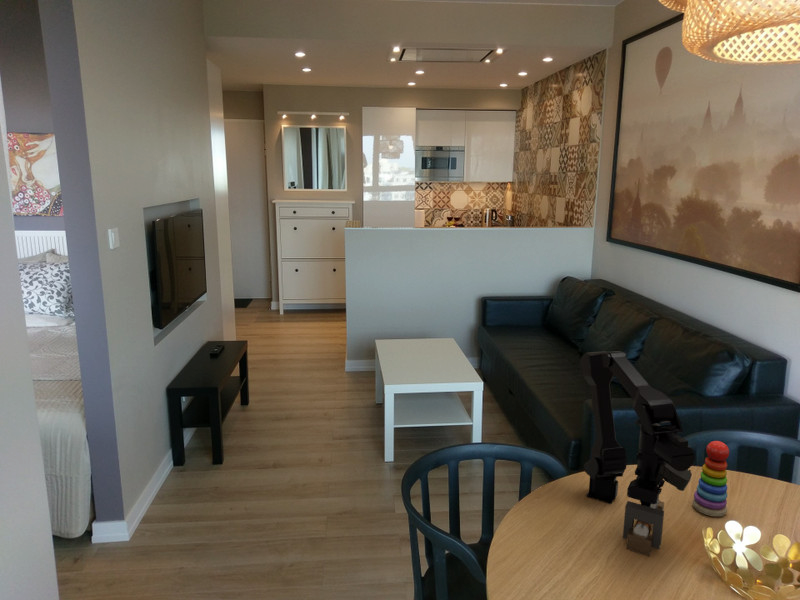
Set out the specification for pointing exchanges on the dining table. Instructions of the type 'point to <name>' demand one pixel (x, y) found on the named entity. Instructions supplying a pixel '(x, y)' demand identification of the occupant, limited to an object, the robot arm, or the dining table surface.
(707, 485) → the stacking toy
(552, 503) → the dining table surface
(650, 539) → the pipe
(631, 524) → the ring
